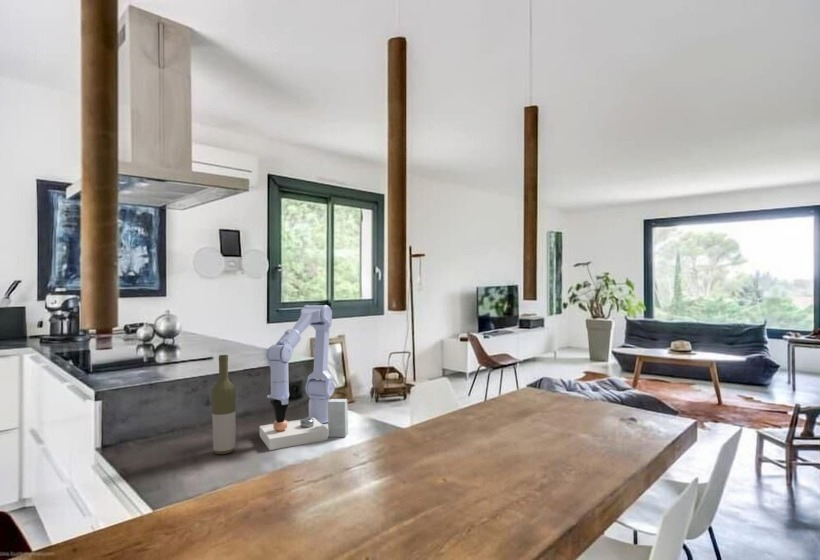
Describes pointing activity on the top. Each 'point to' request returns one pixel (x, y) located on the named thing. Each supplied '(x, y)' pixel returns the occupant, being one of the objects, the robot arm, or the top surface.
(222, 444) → the bottle
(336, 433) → the skincare box
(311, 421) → the plug
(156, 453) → the top surface
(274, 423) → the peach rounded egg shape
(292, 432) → the panel
